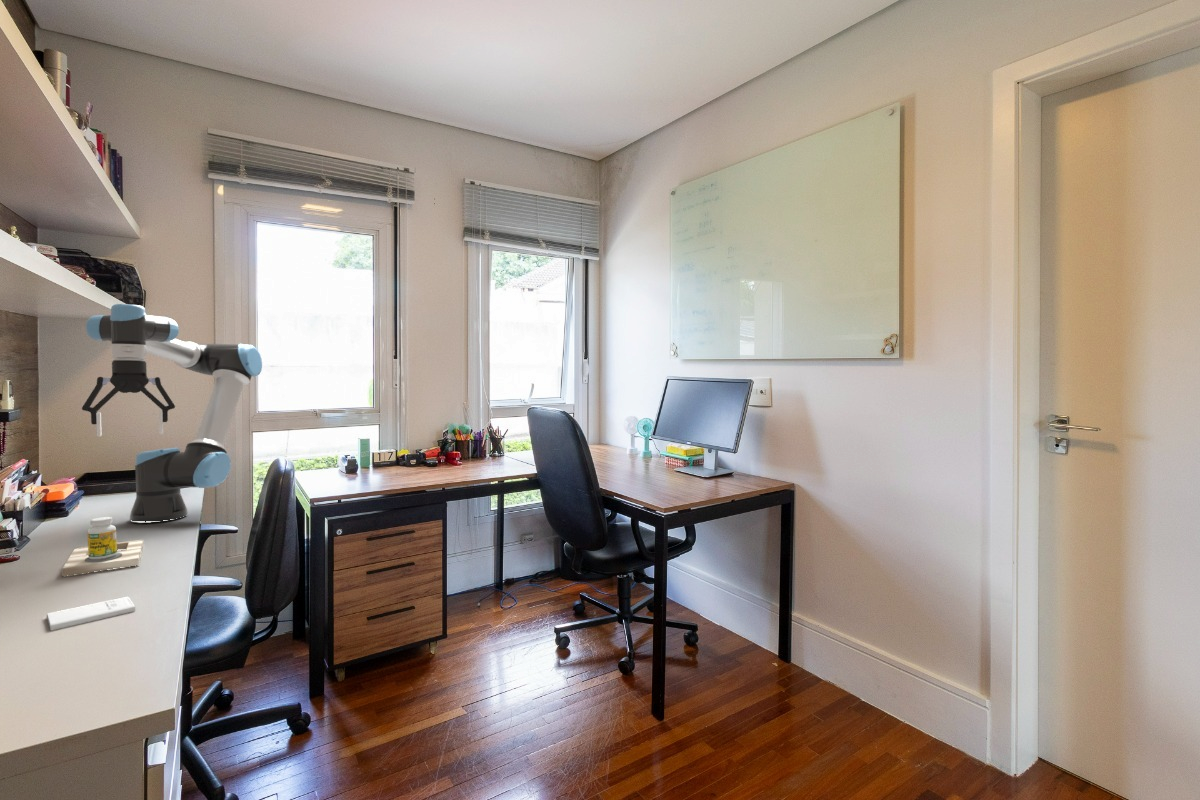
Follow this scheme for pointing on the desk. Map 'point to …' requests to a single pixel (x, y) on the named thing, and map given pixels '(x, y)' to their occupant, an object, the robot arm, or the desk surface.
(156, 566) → the desk surface
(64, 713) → the desk surface
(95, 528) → the supplement bottle
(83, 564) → the puzzle board
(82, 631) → the desk surface
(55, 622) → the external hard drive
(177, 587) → the desk surface
